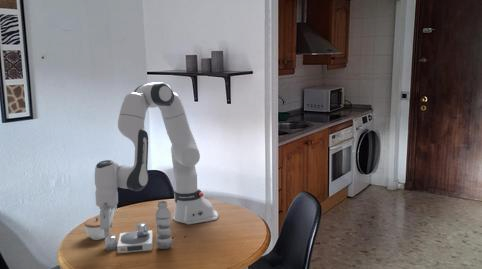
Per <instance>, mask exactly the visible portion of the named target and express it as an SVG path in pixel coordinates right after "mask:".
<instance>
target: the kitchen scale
mask: <svg viewBox="0 0 482 269" xmlns="http://www.w3.org/2000/svg"><path fill="white" fill-rule="evenodd" d="M153 241H154V240H153V230H148V236H147V237H145V238H138V237H137V230H133V231H129V232H120V233H119V237H118V240H117V249H116V250H117V254H123V253H124V254H125V253H132V252H133V253H134V252H135V253H136V252H145V251H152V250H153V243H154V242H153Z"/></svg>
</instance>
